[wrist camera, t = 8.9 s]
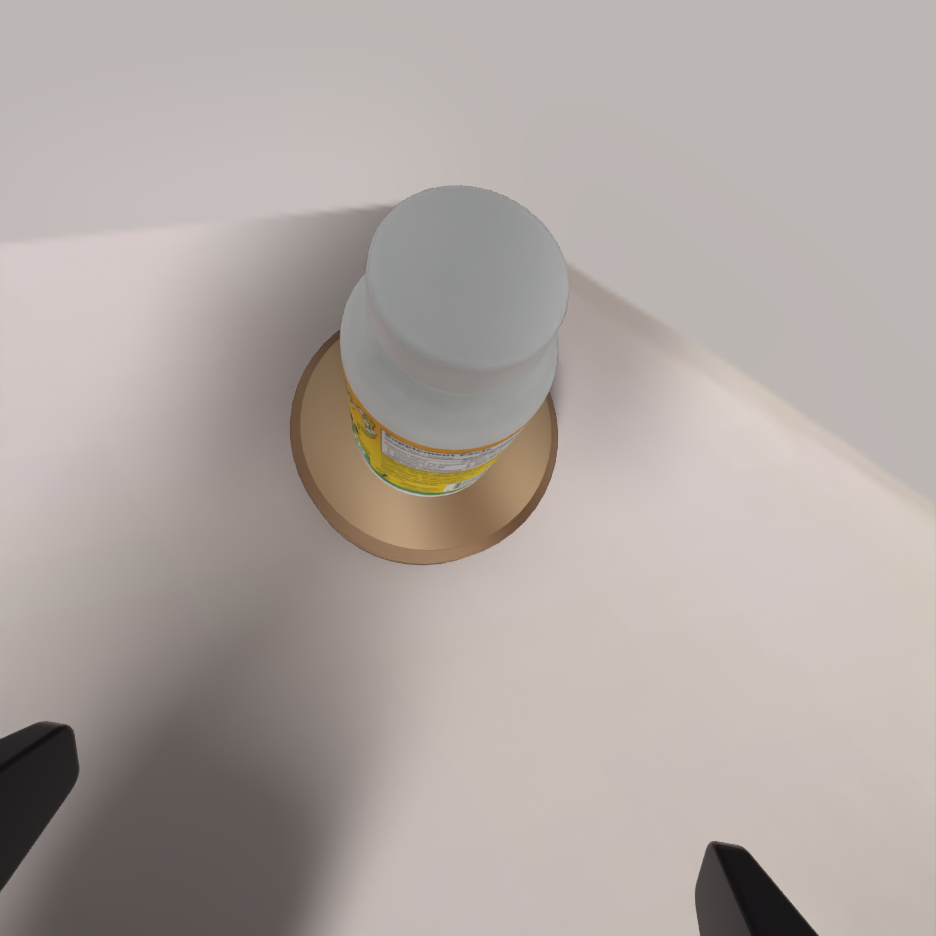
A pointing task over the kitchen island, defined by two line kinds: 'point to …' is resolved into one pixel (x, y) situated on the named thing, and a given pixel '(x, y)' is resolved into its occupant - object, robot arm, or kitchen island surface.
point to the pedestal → (400, 514)
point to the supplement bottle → (451, 336)
